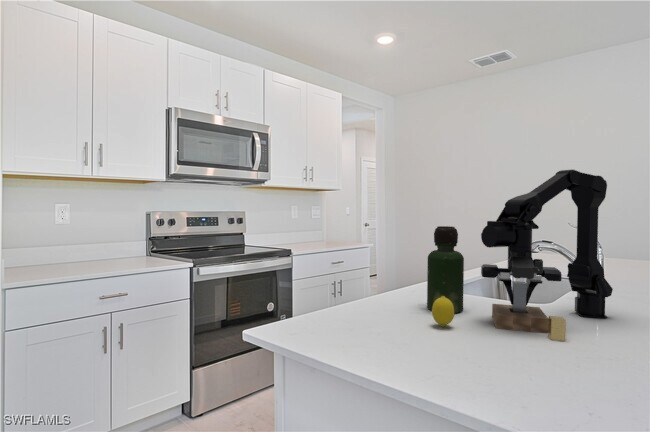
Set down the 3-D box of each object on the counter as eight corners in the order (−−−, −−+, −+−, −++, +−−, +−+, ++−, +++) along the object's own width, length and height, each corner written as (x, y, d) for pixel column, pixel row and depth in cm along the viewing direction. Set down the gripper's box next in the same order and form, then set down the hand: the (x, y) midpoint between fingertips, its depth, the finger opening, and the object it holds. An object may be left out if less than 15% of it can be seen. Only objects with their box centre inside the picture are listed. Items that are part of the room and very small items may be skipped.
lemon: (455, 330, 102) (455, 299, 102) (432, 329, 103) (432, 298, 103) (452, 324, 107) (453, 294, 107) (431, 323, 108) (431, 293, 108)
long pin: (524, 318, 109) (524, 281, 108) (525, 321, 106) (526, 283, 106) (511, 317, 110) (512, 281, 109) (513, 320, 107) (513, 283, 107)
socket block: (539, 319, 112) (539, 307, 112) (548, 332, 100) (548, 318, 100) (492, 315, 115) (492, 303, 115) (495, 328, 104) (496, 314, 104)
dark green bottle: (462, 315, 116) (463, 228, 115) (425, 312, 119) (426, 227, 118) (463, 306, 125) (464, 226, 125) (428, 303, 129) (429, 225, 128)
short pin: (562, 337, 97) (562, 316, 97) (565, 341, 94) (565, 320, 94) (548, 336, 98) (548, 315, 98) (551, 340, 95) (551, 319, 95)
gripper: (483, 248, 102) (483, 309, 103) (567, 250, 97) (566, 315, 97) (481, 243, 113) (480, 299, 114) (556, 246, 107) (555, 304, 108)
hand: (518, 304), depth 108 cm, fingers closed on long pin, 3 cm apart
